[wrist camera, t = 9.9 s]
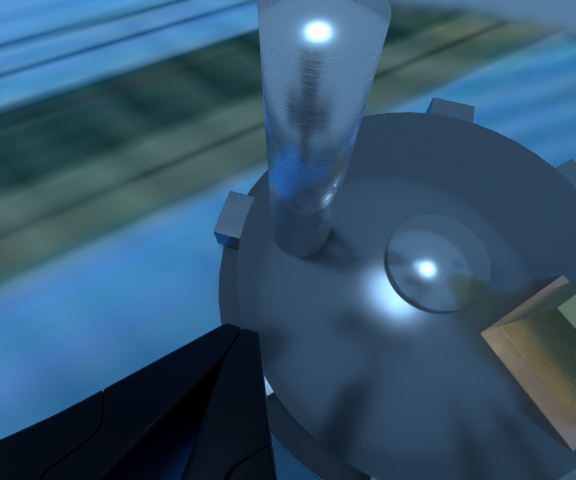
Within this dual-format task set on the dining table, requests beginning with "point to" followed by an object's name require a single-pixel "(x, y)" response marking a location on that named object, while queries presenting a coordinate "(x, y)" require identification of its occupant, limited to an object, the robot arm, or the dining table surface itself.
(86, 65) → the dining table surface
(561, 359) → the link block
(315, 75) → the sprocket
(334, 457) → the base mat
